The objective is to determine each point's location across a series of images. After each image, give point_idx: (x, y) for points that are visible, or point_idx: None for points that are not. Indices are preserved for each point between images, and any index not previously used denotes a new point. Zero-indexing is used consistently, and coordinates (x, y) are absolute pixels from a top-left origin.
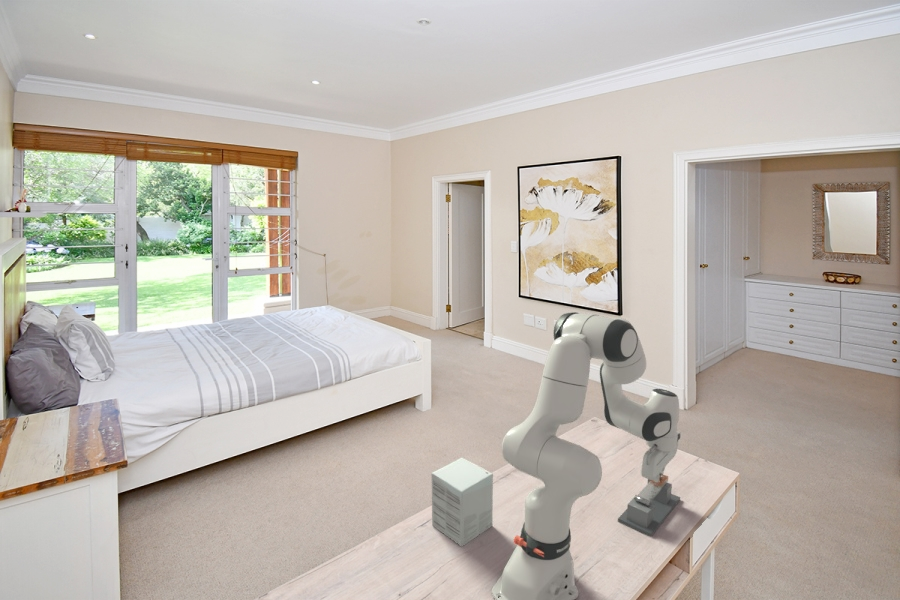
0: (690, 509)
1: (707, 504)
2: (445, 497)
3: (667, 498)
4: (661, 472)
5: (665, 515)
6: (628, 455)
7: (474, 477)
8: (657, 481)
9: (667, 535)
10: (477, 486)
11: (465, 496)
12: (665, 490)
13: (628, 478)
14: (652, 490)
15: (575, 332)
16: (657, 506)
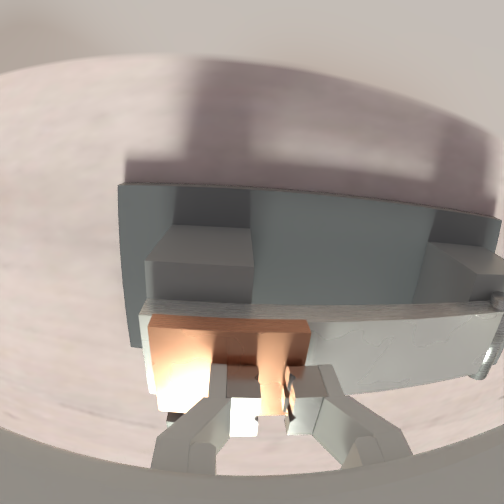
0: (176, 108)
1: (75, 65)
2: None
3: (233, 236)
4: (228, 411)
5: (362, 201)
6: (22, 421)
7: None
8: (330, 372)
9: (461, 161)
10: None
11: None
12: (253, 274)
13: (141, 411)
14: (408, 344)
15: None
16: (304, 260)
